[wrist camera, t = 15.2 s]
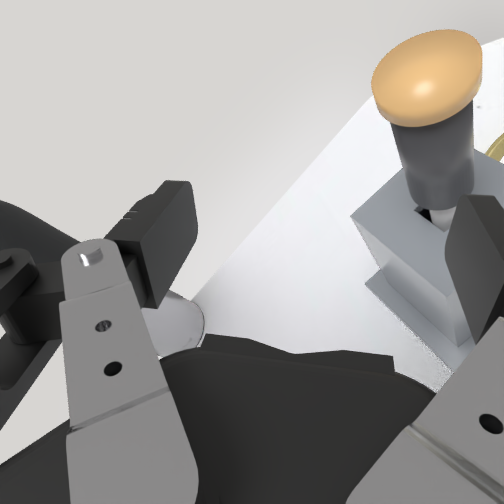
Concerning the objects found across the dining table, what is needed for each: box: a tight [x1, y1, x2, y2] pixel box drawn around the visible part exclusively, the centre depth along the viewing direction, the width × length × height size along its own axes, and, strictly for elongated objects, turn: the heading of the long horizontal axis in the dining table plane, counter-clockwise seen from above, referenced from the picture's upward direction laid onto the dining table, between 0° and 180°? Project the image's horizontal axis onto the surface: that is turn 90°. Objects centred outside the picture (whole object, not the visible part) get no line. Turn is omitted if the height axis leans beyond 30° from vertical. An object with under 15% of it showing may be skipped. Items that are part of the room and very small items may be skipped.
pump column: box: [351, 149, 504, 372], centre depth 35 cm, size 14×14×18 cm
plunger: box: [371, 30, 482, 232], centre depth 29 cm, size 5×5×27 cm
